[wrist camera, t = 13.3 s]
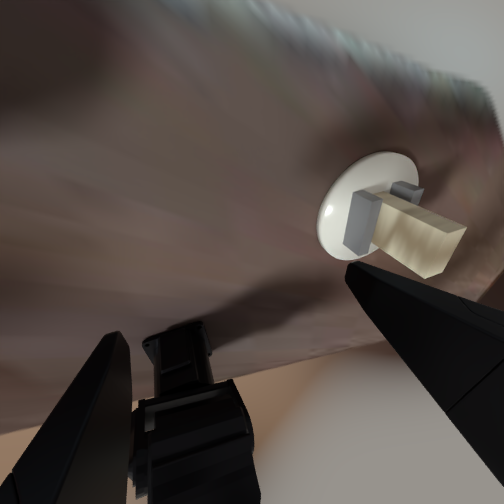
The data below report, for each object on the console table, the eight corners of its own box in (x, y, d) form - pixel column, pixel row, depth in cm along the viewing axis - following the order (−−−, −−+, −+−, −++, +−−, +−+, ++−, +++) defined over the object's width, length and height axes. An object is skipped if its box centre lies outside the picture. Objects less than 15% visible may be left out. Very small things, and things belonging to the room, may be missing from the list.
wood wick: (373, 229, 26) (442, 272, 20) (358, 233, 26) (424, 278, 20) (383, 191, 24) (467, 227, 17) (367, 195, 23) (447, 233, 17)
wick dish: (391, 241, 30) (415, 256, 28) (311, 266, 28) (329, 285, 25) (426, 142, 23) (462, 149, 21) (323, 162, 20) (349, 173, 18)
